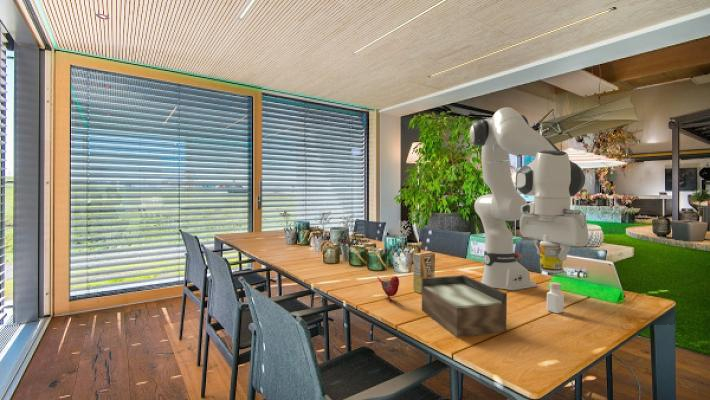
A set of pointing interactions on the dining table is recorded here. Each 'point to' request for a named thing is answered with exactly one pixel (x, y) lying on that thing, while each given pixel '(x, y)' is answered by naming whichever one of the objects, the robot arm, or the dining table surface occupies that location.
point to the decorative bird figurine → (390, 286)
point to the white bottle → (555, 298)
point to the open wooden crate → (464, 305)
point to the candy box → (423, 269)
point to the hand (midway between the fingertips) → (551, 257)
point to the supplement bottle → (550, 256)
